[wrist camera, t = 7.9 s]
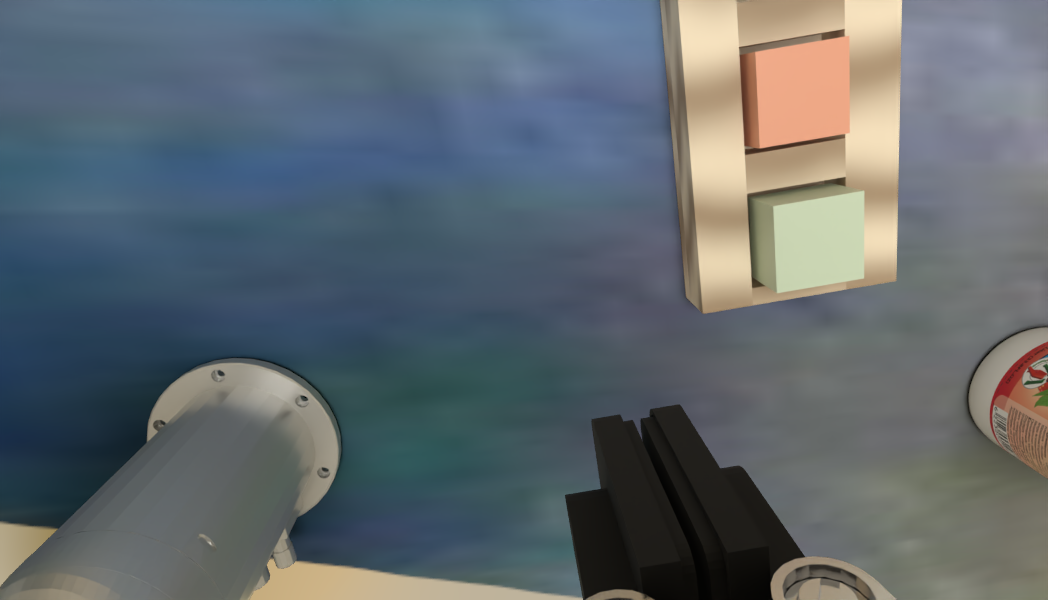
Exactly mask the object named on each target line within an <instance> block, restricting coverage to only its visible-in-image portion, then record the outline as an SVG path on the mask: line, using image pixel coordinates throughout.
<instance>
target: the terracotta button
mask: <svg viewBox="0 0 1048 600" xmlns="http://www.w3.org/2000/svg"><path fill="white" fill-rule="evenodd" d="M739 57H740V75H741V94H742V112H743V131H744V146H748V147H754V148H765V147H771V146H777V145H783V144H789V143H794V142H800V141H806V140H812V139H818V138H824V137H829V136H835V135H841V134H847V133H850V61H849V36H845V37H839V38H833V39H828V40H822V41H816V42H810V43H804V44H798V45H793V46H787V47H781V48H775V49H769V50H763V51H758V52H752V53H747V54H743V55H739Z"/></svg>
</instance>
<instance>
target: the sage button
mask: <svg viewBox="0 0 1048 600" xmlns="http://www.w3.org/2000/svg"><path fill="white" fill-rule="evenodd" d="M748 207H749V226H750V244H751V263H752V277H753V278H754V279H756V280H757V281H759V282H760V283H762V284H763V285H765V286H766V287H768V288H770V289H771V290H773V291H774V292H776V293H782V292H788V291H793V290H799V289H805V288H811V287H817V286H823V285H829V284H835V283H840V282H846V281H852V280H858V279H864V190H859V189H855V188H850V187H846V186H842V185H837V184H833V183H828V184H822V185H816V186H811V187H805V188H799V189H793V190H787V191H781V192H776V193H770V194H764V195H758V196H752V197H748Z"/></svg>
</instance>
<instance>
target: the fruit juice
mask: <svg viewBox="0 0 1048 600" xmlns="http://www.w3.org/2000/svg"><path fill="white" fill-rule="evenodd" d="M969 408H970V412H971V415H972V418H973V420H974V422H975V423H976V425H977V426H978V428H979V429H980V430H981V431H982V432H983V433H984V434H985V435H986V436H987V437H988V438H989V439H990V440H991V441H993V442H994V443H995V444H997V445H998V446H1000V447H1001V448H1003V449H1004V450H1006V451H1007V452H1009V453H1010V454H1012V455H1013V456H1015V457H1016V458H1018V459H1019V460H1021V461H1022V462H1024V463H1025V464H1027V465H1028V466H1029V467H1031V468H1032V469H1034V470H1035V471H1037V472H1038V473H1040V474H1041V475H1043V476H1044V477H1046V478H1047V479H1048V327H1043V328H1035V329H1030V330H1027V331H1024V332H1021V333H1018V334H1016V335H1014V336H1012V337H1010V338H1008V339H1007V340H1005V341H1004V342H1002V343H1001V344H999V345H998V346H997V347H996V348H994V349H993V350H992V351H991V352H990V353H989V354H988V355H987V356H986V358H985V359H984V360H983V361H982V363H981V364H980V366H979V367H978V369H977V371H976V373H975V375H974V377H973V379H972V382H971V386H970V390H969Z"/></svg>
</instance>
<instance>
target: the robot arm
mask: <svg viewBox="0 0 1048 600" xmlns="http://www.w3.org/2000/svg"><path fill="white" fill-rule="evenodd" d="M220 370H221V371H222V372H223V373H222V372H221V371H220ZM303 396H305V397H307V398H304V397H303ZM592 430H593V437H594V444H595V451H596V458H597V465H598V471H599V478H600V485H601V489H598V490H592V491H586V492H580V493H574V494H568V495H565V498H566V504H567V510H568V516H569V522H570V528H571V534H572V540H573V546H574V552H575V557H576V563H577V569H578V574H579V580H580V585H581V591H582V596H583V600H897V599H896V598H895V597H894V596H893V595H891V594H890V593H889V592H888V591H887V590H886V589H885V588H884V587H883V586H882V585H881V584H880V583H879V582H878V581H877V580H876V579H874V578H873V577H872V576H870V575H869V574H868V573H866V572H865V571H864V570H862V569H860V568H858V567H856V566H854V565H852V564H849V563H847V562H845V561H841V560H837V559H833V558H829V557H813V556H810V557H805V556H804V555H803V553H802V552H801V550H800V549H799V547H798V546H797V545H796V543H795V542H794V540H793V539H792V537H791V536H790V534H789V533H788V532H787V530H786V529H785V527H784V526H783V524H782V523H781V522H780V520H779V519H778V517H777V516H776V514H775V513H774V511H773V510H772V509H771V507H770V506H769V504H768V503H767V501H766V500H765V498H764V497H763V496H762V494H761V493H760V491H759V490H758V488H757V487H756V485H755V484H754V483H753V481H752V480H751V478H750V477H749V475H748V474H747V472H746V471H745V470H744V469H743V468H742V467H741V466H733V467H727V468H721V469H720V467H719V466H718V464H717V462H716V461H715V459H714V458H713V456H712V455H711V453H710V451H709V450H708V448H707V447H706V445H705V443H704V442H703V440H702V439H701V437H700V435H699V434H698V432H697V431H696V429H695V427H694V426H693V424H692V423H691V421H690V420H689V418H688V416H687V415H686V413H685V412H684V410H683V408H682V407H681V406H680V405H673V406H667V407H661V408H655V409H650V417H648V418H642V419H641V432H642V439H641V437H640V435H639V433H638V431H637V428H636V426H635V424H634V422H633V420H630V421H624V422H623V420H622V417H621V415H614V416H608V417H602V418H596V419H592ZM642 441H643V442H642ZM340 457H341V436H340V432H339V428H338V425H337V421H336V419H335V417H334V415H333V413H332V411H331V409H330V407H329V405H328V404H327V403H326V401H325V400H324V399H323V398H322V396H321V395H320V394H319V393H318V391H316V390H315V389H314V388H313V387H312V386H311V385H310V384H309V383H307V382H306V381H305V380H304V379H302V378H301V377H299V376H297V375H296V374H294V373H293V372H291V371H289V370H287V369H285V368H282V367H280V366H277V365H275V364H272V363H269V362H265V361H260V360H255V359H246V358H229V359H221V360H215V361H212V362H208V363H205V364H202V365H199V366H197V367H195V368H193V369H192V370H190V371H188V372H186V373H184V374H183V375H182V376H181V377H179V378H178V379H177V380H176V381H174V382H173V383H172V384H171V385H170V386H169V387H168V388H167V389H166V390H165V391H164V392H163V393H162V395H161V396H160V397H159V399H158V401H157V402H156V404H155V406H154V408H153V409H152V412H151V415H150V418H149V421H148V427H147V443H146V444H145V445H144V446H143V447H142V448H141V449H140V450H139V451H138V452H137V453H136V454H135V455H134V456H133V457H132V458H131V459H129V460H128V461H127V462H126V463H125V464H124V465H123V466H122V467H121V468H120V469H119V470H118V471H117V472H116V473H115V474H114V475H113V476H112V477H111V478H110V479H109V480H108V481H107V482H106V483H105V484H104V485H103V486H102V487H101V488H100V489H99V490H98V491H97V492H96V493H95V494H94V495H93V496H92V497H91V498H89V499H88V500H87V501H86V502H85V503H84V504H83V505H82V506H81V507H80V508H79V509H78V510H77V511H76V512H75V513H74V514H73V515H72V516H71V517H70V518H69V519H68V520H67V521H66V522H65V523H64V524H63V525H62V526H61V527H60V528H59V529H58V530H57V531H56V532H55V533H54V534H53V535H52V536H51V537H50V538H48V539H47V540H46V541H45V542H44V543H43V544H42V545H41V546H40V547H39V548H38V549H37V550H36V551H35V552H34V553H33V554H32V555H31V556H29V557H28V558H27V559H26V560H25V561H24V562H23V563H22V564H21V565H20V566H19V567H18V568H17V569H16V570H15V571H14V572H13V573H12V574H11V575H10V576H9V577H8V578H7V580H6V581H5V582H4V583H3V584H2V585H1V586H0V600H250V598H251V596H252V594H253V592H254V591H255V590H257V589H260V588H261V587H262V586H264V585H265V584H266V583H267V582H268V580H269V579H270V573H269V571H268V568H267V563H268V561H269V559H270V557H271V555H273V558H274V561H275V563H276V566H277V567H278V568H287V567H289V566H291V565H292V564H294V562H295V561H296V560H297V556H296V553H295V550H294V547H293V544H292V542H291V541H290V538H289V534H290V531H291V529H292V527H293V525H294V523H295V521H296V519H297V517H299V516H301V515H303V514H305V513H306V512H307V511H309V510H310V509H311V508H313V507H314V506H315V505H316V504H317V503H318V502H319V501H320V500H321V499H322V498H323V496H324V495H325V494H326V493H327V491H328V489H329V488H330V486H331V484H332V482H333V480H334V478H335V475H336V472H337V470H338V467H339V463H340Z"/></svg>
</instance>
